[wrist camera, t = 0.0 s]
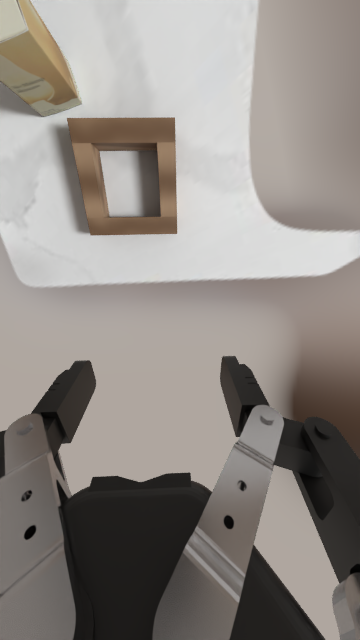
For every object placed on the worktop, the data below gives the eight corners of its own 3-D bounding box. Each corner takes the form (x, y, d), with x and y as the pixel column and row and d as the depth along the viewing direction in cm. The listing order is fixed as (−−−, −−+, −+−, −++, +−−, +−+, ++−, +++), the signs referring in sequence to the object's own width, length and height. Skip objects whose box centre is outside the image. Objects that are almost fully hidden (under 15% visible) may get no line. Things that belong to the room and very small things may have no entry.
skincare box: (43, 118, 28) (-38, 56, 17) (25, 75, 26) (-79, -25, 15) (85, 103, 28) (29, 30, 17) (70, 58, 26) (-5, -58, 15)
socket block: (78, 129, 29) (66, 118, 26) (174, 128, 29) (174, 117, 26) (97, 233, 35) (90, 235, 32) (176, 232, 36) (177, 233, 32)
